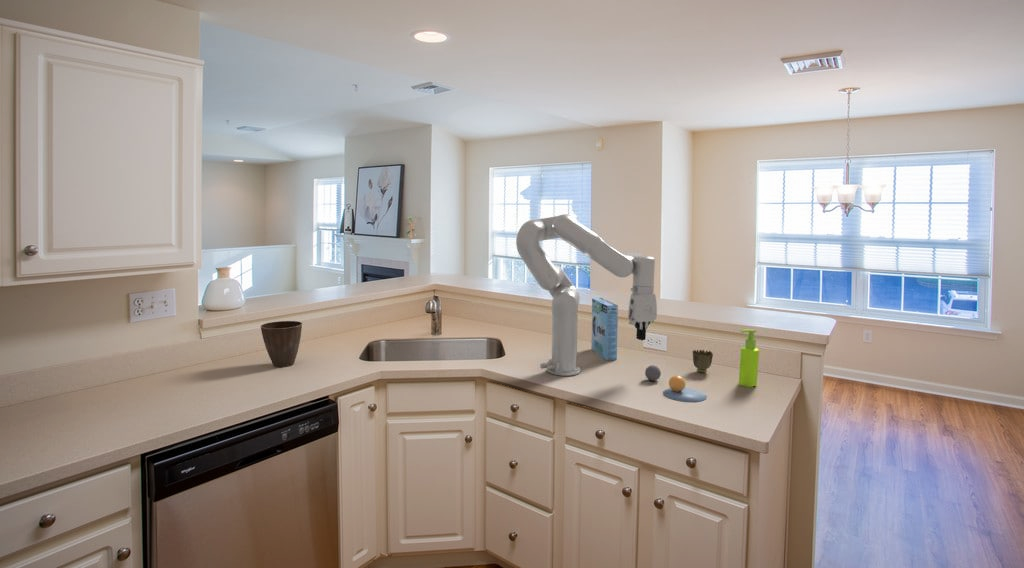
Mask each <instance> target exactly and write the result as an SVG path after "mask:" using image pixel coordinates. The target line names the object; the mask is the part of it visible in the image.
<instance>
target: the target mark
mask: <svg viewBox="0 0 1024 568" xmlns="http://www.w3.org/2000/svg"><path fill="white" fill-rule="evenodd" d="M662 392H663V393H664V394H663V395H664V397H666V396H667V397H666V398H669V399H671V400H674V401H677V402H686V403H698V402H704V401H705V400H706V399H707V398H708V396H707V394H706V393H704V392H703V391H700V390H697V389H694V388H689V387H685V388H684V389H683V390H682V391H680V392H675V391H673V390H672V389H671V388H670V387H669V388H666V389H664V390H663V391H662Z"/></svg>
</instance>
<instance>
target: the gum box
mask: <svg viewBox="0 0 1024 568" xmlns="http://www.w3.org/2000/svg"><path fill="white" fill-rule="evenodd" d="M618 309H619V305H618V304H615V303H613V302H611V301H609V300H608V299H604V298H603V297H593V298H591V314H592V315H591V350H592V349H593V352H594V353H596V354H597V355H599V356H600V357H602V359H604V360H606V361H616V360H617V359H618V328H619V327H618V325H619V324H618V323H619V322H618V321H619V320H618V319H619V317H618V316H619V310H618Z"/></svg>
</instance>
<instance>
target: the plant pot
mask: <svg viewBox="0 0 1024 568" xmlns="http://www.w3.org/2000/svg"><path fill="white" fill-rule="evenodd" d="M302 326H303V322H301V321H298V320H297V321H296V320H281V321H280V320H279V321H272V322H267V323H264V324H261V325H260V329H261V330H260V331H261V335H262V340H263V343H264V347H265V349H266V351H267V354H268V356H269V360H270V361H271V363H272V365H273V367H276V368H284V367H290V366H293V365H294V364H295V361H296V359H297V354H298V352H299V347H300V343H301V337H302Z"/></svg>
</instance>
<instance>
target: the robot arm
mask: <svg viewBox="0 0 1024 568" xmlns="http://www.w3.org/2000/svg"><path fill="white" fill-rule="evenodd" d="M559 238H560V239H561V240H562V241H564V242H565V243H567V244H569V245H570V246H572V247H573V248H575V249H576V250H578V251H579V252H581V254H584V255H585V256H586V257H588V258H589V259H590V260H591V261H594V262H595V263H597V264H598V265H599V266H601V267H602V268H604V269H605V270H606V271H608V272H609V273H611V274H613V275H614V276H616V277H618V278H627V277H628V276H630V275H632V287H631V288H630V292H632V293H630V296H629V297H630V298H629V302H628V309H627V311H628V314H627V317H628V320H629V321H628V324H629V325H631V326H634V327H635V329H636V336H635V337H636V340H639V341H645V340H647V339H646V338H647V337H646V336H647V335H646V334H647V329H648V328H649V326H650V325H651V324H653V323H654V322H655V320H657V318H658V317H657V316H658V315H657V312H658V309H657V308H658V307H657V305H658V304H657V297H656V293H654V289H655V288H654V287H655V266H656V261H655V258H654V257H653V256H649V255H637V256H636V255H629V254H628V255H627V254H622V253H621V252H619V251H618V250H616V249H614V247H612V246H610V245H609V244H608V243H607V242H605V241H604V240H603V238H602V237H600V235H598V234H597V233H596V232H594V231H592V230H591V229H590V228H588V227H586V226H585V225H583V224H581V223H580V222H578V220H576V219H575V218H574V217H573V216H572V215H570V214H566V213H565V214H560V215H555V216H551V217H550V216H549V217H543V218H537V219H530V220H528V221H526V222H524V223H523V224H522V225H521V227H520V228H519V230H518V232H517V234H516V240H515V242H516V243H515V244H516V250H517V253H518V255H519V256H520V258H521V259H522V261H523V263H524V264H525V265H526V267H527V269H528V270H529V271H530V273H531V275H532V276H533V278H534V279H535V281H536V282H537V284H538V285H539V287H540V288H541V289H542V290H544V291H547V292H548V293H549V294H550V296H551V297H552V301H551V333H552V334H551V358H550V359H549V360H548V362H543V363H540V365H539V367H540V369H541V370H543V369H547V372H548V373H549V374H552V375H555V376H561V377H572V376H575V375H579V374H580V373H581V368H580V366H577V362H578V361H577V359H578V355H577V354H578V353H577V352H578V322H579V321H578V316H579V315H578V313H579V311H578V309H579V303H580V299H581V298H580V293H579V291H578V289H577V288H576V287H575V285H574V284H573V282H572V281H571V279H570V278H569V277H568V275H567V274H566V272H565V271H564V270H563V268H562V267H561V266H560V265H559V264H556V263H553V262H552V261H551V259H550V258H549V256H548V255H547V254H546V252H545V251H544V250H543V248H542V247H541V244H540V242H543V241H548V240H554V239H559Z"/></svg>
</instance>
